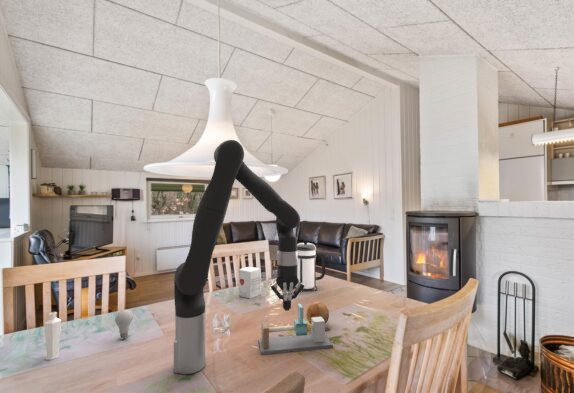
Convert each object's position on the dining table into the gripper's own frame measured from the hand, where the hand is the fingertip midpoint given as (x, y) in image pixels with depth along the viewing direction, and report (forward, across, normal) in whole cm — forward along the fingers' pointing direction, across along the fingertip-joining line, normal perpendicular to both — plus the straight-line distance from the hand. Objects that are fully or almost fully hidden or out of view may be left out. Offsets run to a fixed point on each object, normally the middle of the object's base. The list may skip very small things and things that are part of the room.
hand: (286, 309), depth 109 cm
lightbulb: (+14, -61, +17) cm, 65 cm away
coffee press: (+12, +25, +66) cm, 72 cm away
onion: (+13, +16, +14) cm, 25 cm away
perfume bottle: (+14, -80, +6) cm, 82 cm away
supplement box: (+13, -10, +60) cm, 62 cm away
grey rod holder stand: (+13, +3, 0) cm, 13 cm away
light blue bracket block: (+9, +5, 0) cm, 10 cm away
